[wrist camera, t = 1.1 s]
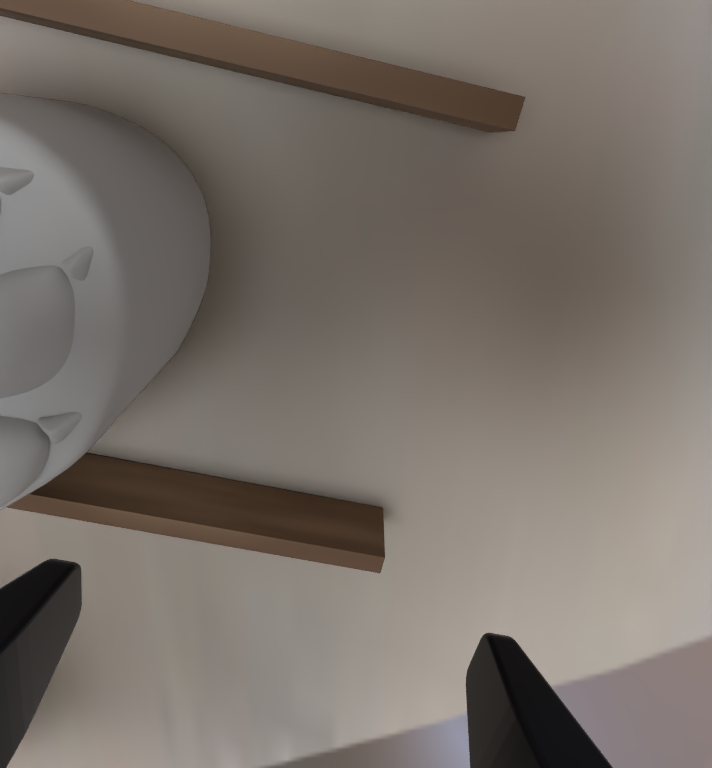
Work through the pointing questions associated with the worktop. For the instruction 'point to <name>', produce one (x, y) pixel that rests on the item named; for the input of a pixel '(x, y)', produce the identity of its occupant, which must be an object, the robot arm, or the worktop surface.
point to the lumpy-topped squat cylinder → (86, 277)
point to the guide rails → (207, 493)
